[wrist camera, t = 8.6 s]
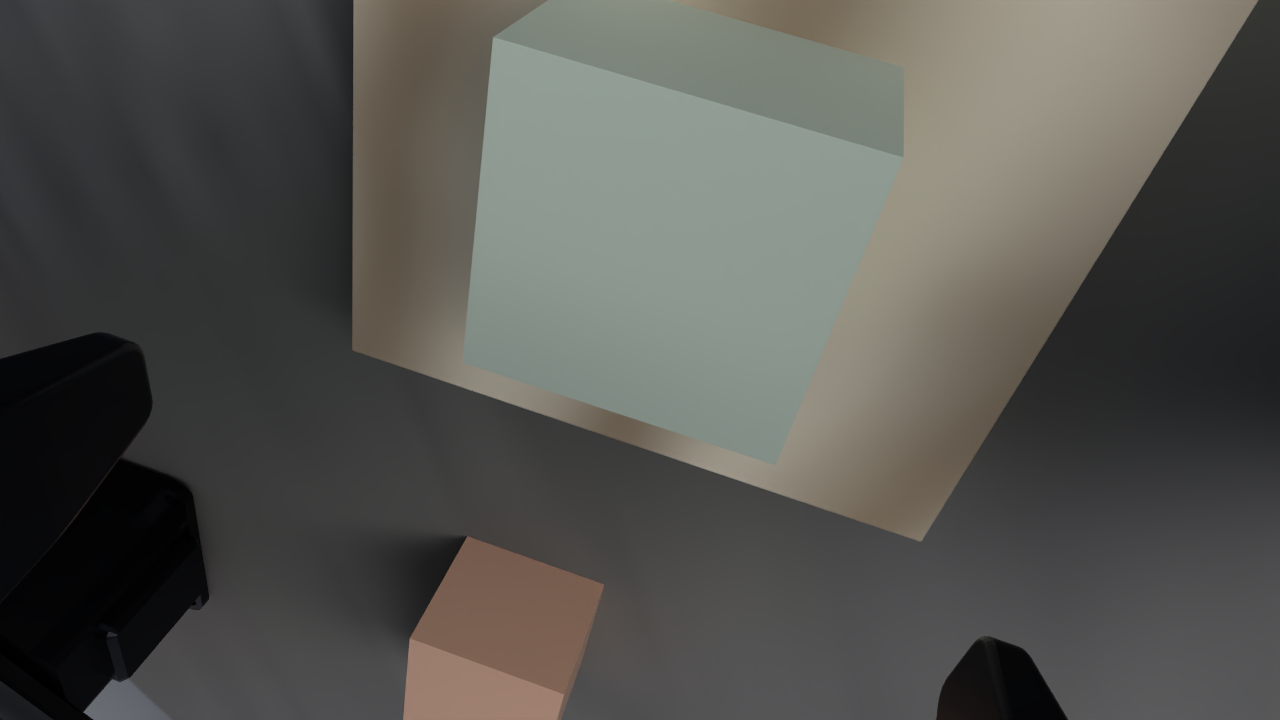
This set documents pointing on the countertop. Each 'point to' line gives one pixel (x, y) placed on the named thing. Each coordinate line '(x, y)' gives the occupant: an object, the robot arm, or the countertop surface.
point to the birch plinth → (896, 252)
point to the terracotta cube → (499, 639)
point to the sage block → (674, 211)
